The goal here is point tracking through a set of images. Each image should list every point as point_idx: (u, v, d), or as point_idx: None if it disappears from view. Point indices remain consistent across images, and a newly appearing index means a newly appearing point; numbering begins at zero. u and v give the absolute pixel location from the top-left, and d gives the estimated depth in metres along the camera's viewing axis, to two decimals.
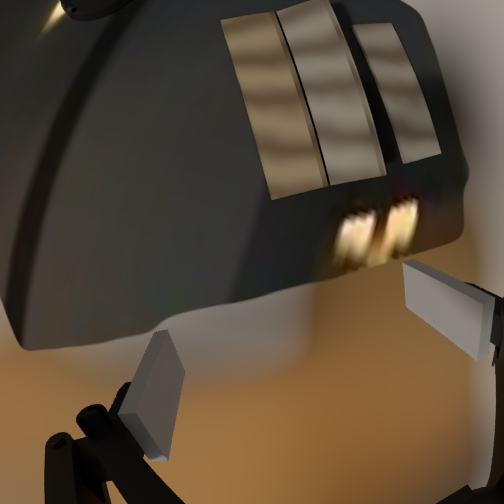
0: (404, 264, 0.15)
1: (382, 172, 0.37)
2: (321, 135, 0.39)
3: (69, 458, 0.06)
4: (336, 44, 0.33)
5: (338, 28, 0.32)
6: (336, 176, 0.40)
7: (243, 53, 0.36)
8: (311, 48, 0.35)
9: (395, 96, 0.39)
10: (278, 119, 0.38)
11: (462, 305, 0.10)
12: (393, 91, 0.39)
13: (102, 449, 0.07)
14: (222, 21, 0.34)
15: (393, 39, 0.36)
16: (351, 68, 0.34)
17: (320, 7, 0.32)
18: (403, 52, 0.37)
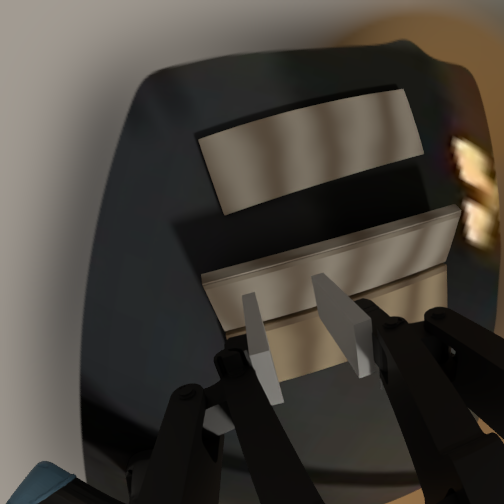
0: (311, 277, 0.17)
1: (457, 214, 0.27)
2: (402, 275, 0.32)
3: (195, 413, 0.08)
4: (298, 269, 0.28)
5: (270, 268, 0.27)
6: (441, 257, 0.32)
7: (297, 366, 0.34)
8: (296, 295, 0.30)
9: (342, 154, 0.29)
10: None
11: (343, 322, 0.12)
12: (335, 157, 0.30)
13: (232, 390, 0.09)
14: None
15: (233, 141, 0.28)
16: (339, 251, 0.27)
17: (225, 289, 0.28)
18: (257, 124, 0.28)
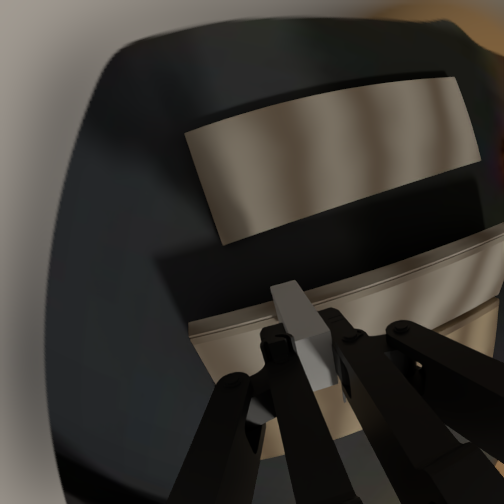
0: (283, 285, 0.17)
1: None
2: (454, 315, 0.22)
3: (240, 402, 0.08)
4: None
5: None
6: (495, 289, 0.22)
7: None
8: None
9: (389, 158, 0.20)
10: None
11: None
12: (379, 162, 0.20)
13: (276, 376, 0.09)
14: None
15: (236, 135, 0.19)
16: (383, 286, 0.18)
17: (223, 345, 0.19)
18: (270, 112, 0.19)
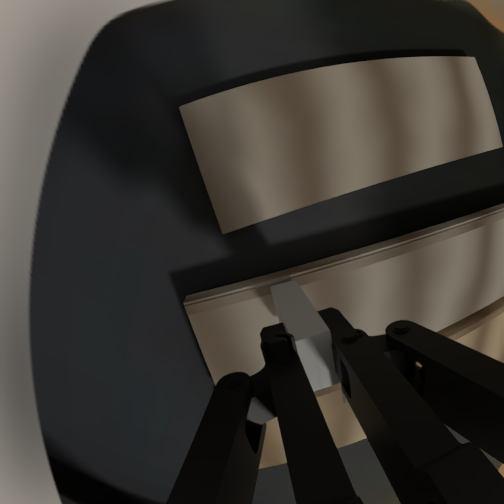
0: (283, 285, 0.17)
1: None
2: (473, 308, 0.20)
3: (240, 402, 0.08)
4: (328, 287, 0.18)
5: (286, 281, 0.18)
6: None
7: None
8: None
9: (409, 139, 0.17)
10: None
11: None
12: (399, 143, 0.17)
13: (276, 376, 0.09)
14: None
15: (239, 108, 0.16)
16: (384, 256, 0.18)
17: (219, 318, 0.18)
18: (278, 83, 0.16)
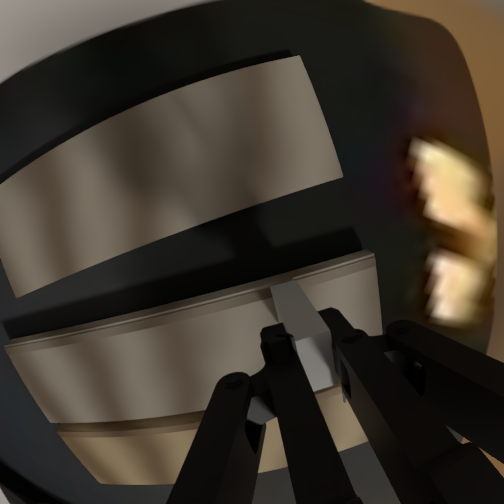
0: (283, 285, 0.17)
1: (369, 262, 0.18)
2: None
3: (240, 402, 0.08)
4: (88, 349, 0.18)
5: (56, 340, 0.17)
6: None
7: (149, 475, 0.21)
8: (105, 392, 0.18)
9: (159, 198, 0.17)
10: None
11: None
12: (146, 205, 0.17)
13: (276, 376, 0.09)
14: (101, 482, 0.21)
15: (12, 196, 0.16)
16: (133, 328, 0.17)
17: (25, 360, 0.17)
18: (35, 167, 0.15)
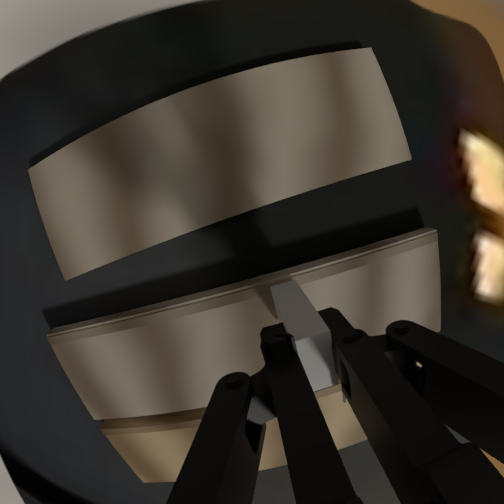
0: (283, 285, 0.17)
1: (432, 237, 0.18)
2: None
3: (240, 402, 0.08)
4: (155, 332, 0.18)
5: (115, 324, 0.18)
6: (430, 323, 0.19)
7: None
8: (169, 379, 0.19)
9: (246, 170, 0.17)
10: None
11: None
12: (232, 177, 0.17)
13: (276, 376, 0.09)
14: (145, 481, 0.21)
15: (68, 166, 0.16)
16: (212, 305, 0.18)
17: (72, 350, 0.18)
18: (99, 134, 0.16)
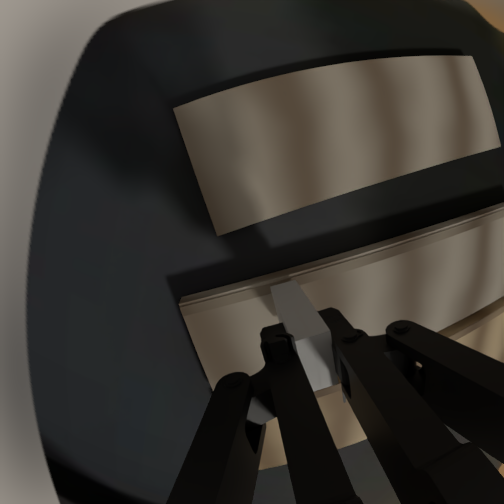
0: (283, 285, 0.17)
1: None
2: (471, 309, 0.20)
3: (240, 402, 0.08)
4: (323, 288, 0.18)
5: (281, 282, 0.18)
6: None
7: None
8: None
9: (405, 139, 0.17)
10: None
11: None
12: (396, 143, 0.17)
13: (276, 376, 0.09)
14: None
15: (233, 110, 0.16)
16: (380, 257, 0.18)
17: (214, 319, 0.18)
18: (272, 84, 0.16)
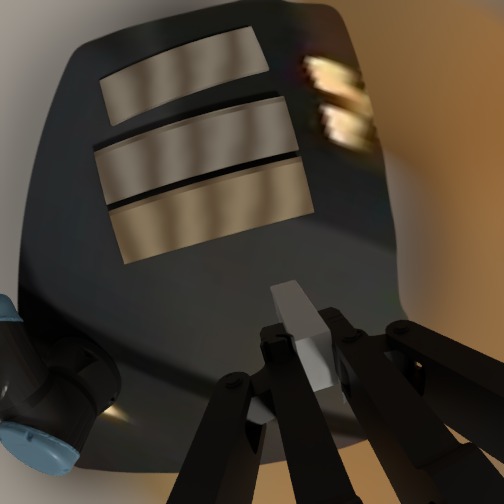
0: (283, 285, 0.17)
1: (281, 99, 0.38)
2: (248, 157, 0.40)
3: (240, 402, 0.08)
4: (149, 141, 0.38)
5: (132, 139, 0.38)
6: (290, 143, 0.40)
7: (163, 241, 0.41)
8: (152, 166, 0.39)
9: (193, 76, 0.37)
10: (235, 205, 0.41)
11: None
12: (187, 79, 0.37)
13: (276, 376, 0.09)
14: (126, 262, 0.42)
15: (120, 78, 0.36)
16: (176, 126, 0.38)
17: (106, 157, 0.38)
18: (135, 66, 0.36)
